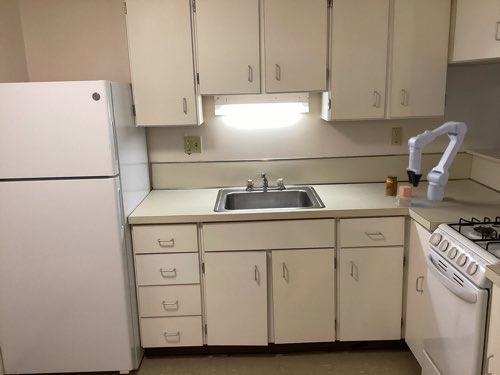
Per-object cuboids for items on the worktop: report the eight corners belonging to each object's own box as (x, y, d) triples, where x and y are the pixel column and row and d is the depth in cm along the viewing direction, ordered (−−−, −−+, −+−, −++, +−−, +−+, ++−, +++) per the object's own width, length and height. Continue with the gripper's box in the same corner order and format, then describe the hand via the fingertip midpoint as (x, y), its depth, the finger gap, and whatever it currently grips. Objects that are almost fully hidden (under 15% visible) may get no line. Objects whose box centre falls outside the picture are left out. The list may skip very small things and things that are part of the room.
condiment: (382, 196, 244) (383, 175, 241) (393, 194, 248) (394, 174, 245) (391, 198, 238) (393, 177, 235) (402, 197, 241) (404, 176, 239)
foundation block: (396, 202, 225) (396, 195, 224) (407, 202, 225) (408, 195, 224) (398, 205, 219) (399, 197, 219) (410, 205, 219) (411, 198, 218)
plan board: (392, 202, 228) (393, 200, 228) (427, 203, 226) (427, 201, 226) (398, 208, 217) (398, 206, 217) (434, 209, 215) (434, 207, 215)
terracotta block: (398, 195, 224) (399, 186, 223) (406, 194, 225) (407, 185, 224) (403, 197, 220) (403, 187, 219) (411, 196, 220) (411, 187, 219)
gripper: (403, 157, 230) (402, 182, 233) (410, 162, 216) (409, 188, 219) (417, 157, 229) (415, 182, 232) (425, 162, 215) (423, 188, 218)
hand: (413, 185), depth 225 cm, fingers open, 7 cm apart
